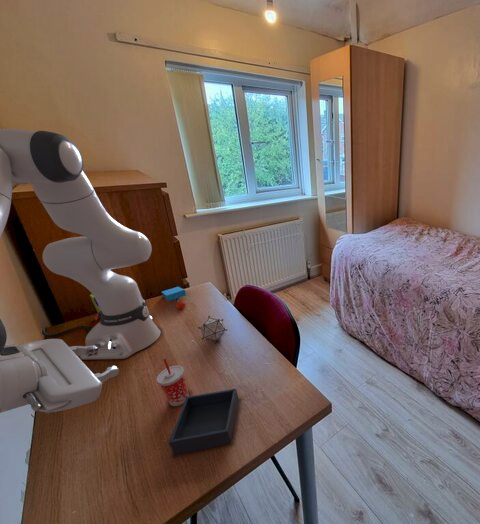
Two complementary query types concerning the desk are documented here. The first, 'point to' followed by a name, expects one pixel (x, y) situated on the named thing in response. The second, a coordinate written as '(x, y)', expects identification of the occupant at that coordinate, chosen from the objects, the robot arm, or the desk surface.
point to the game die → (212, 329)
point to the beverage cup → (173, 384)
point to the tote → (205, 421)
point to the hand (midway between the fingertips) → (106, 359)
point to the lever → (175, 296)
